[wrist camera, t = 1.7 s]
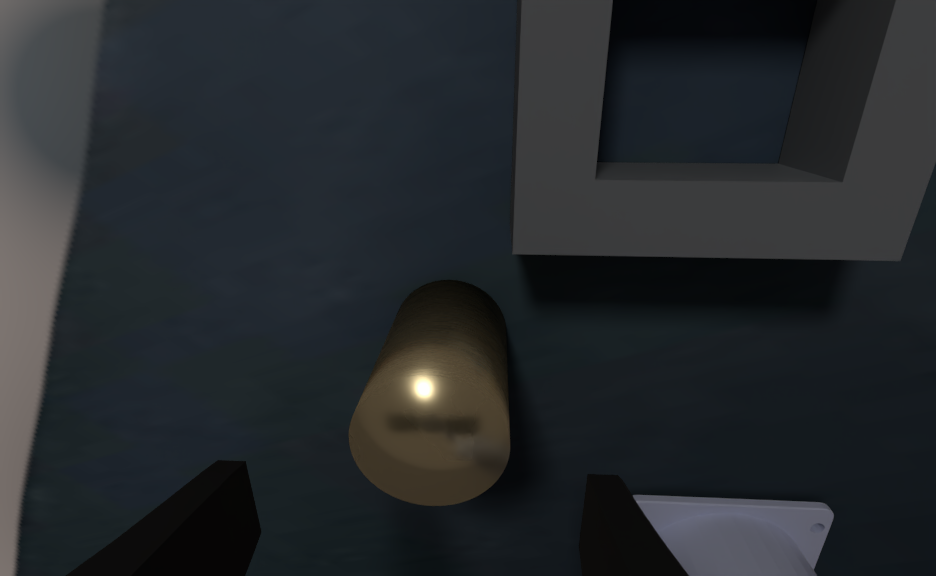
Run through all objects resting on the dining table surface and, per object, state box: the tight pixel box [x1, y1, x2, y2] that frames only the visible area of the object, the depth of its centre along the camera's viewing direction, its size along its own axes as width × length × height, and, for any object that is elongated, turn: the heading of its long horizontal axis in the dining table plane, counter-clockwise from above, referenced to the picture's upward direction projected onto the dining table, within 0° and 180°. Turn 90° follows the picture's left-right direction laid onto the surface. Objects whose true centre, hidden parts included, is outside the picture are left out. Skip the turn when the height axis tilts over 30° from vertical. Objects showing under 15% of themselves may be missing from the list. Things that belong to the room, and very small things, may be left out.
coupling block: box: [510, 0, 936, 261], centre depth 12 cm, size 10×10×3 cm
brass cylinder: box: [349, 280, 510, 506], centre depth 15 cm, size 4×4×6 cm
